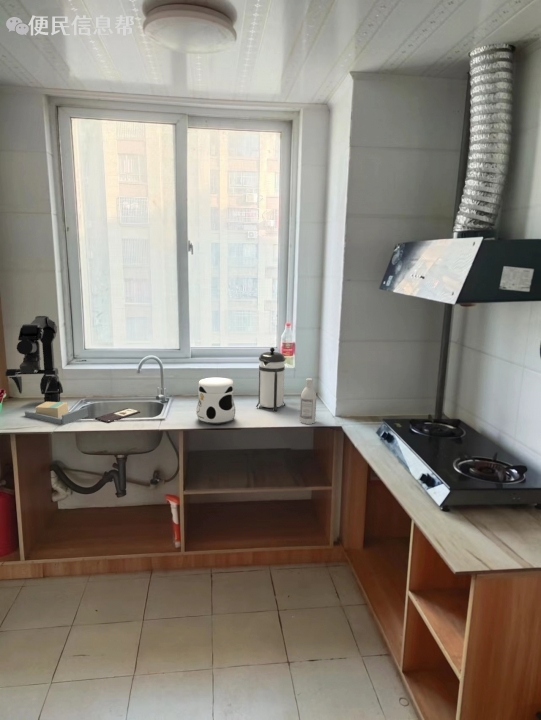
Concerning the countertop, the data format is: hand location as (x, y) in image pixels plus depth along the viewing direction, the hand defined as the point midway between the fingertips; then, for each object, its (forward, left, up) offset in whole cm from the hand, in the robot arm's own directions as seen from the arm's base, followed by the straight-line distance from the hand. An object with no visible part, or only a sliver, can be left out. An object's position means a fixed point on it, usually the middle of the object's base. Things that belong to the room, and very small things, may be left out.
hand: (32, 393), depth 191 cm
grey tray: (-12, -2, -15) cm, 19 cm away
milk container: (-44, +60, -15) cm, 76 cm away
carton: (-12, -5, -14) cm, 19 cm away
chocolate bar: (-28, +18, -16) cm, 37 cm away
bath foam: (-62, +97, -15) cm, 117 cm away
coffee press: (-75, +73, -15) cm, 106 cm away
